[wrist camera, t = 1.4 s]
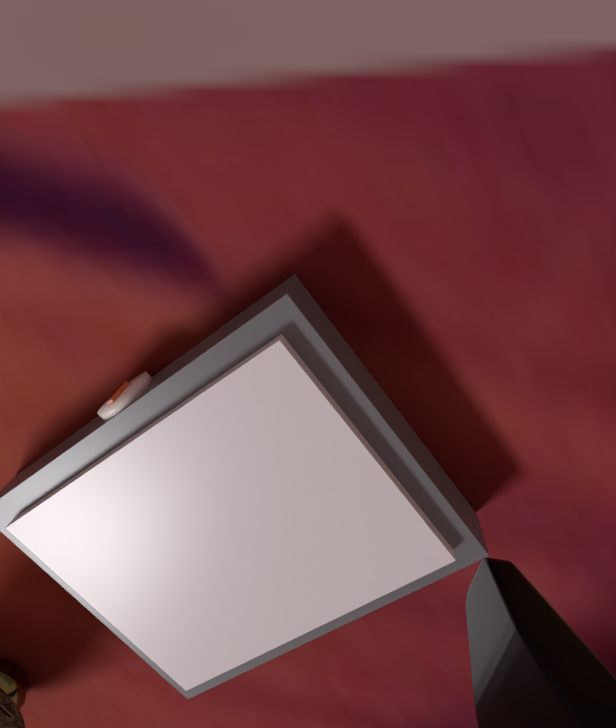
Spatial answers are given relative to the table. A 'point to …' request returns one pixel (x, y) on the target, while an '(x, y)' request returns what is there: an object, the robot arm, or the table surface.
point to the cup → (11, 696)
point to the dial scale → (242, 499)
